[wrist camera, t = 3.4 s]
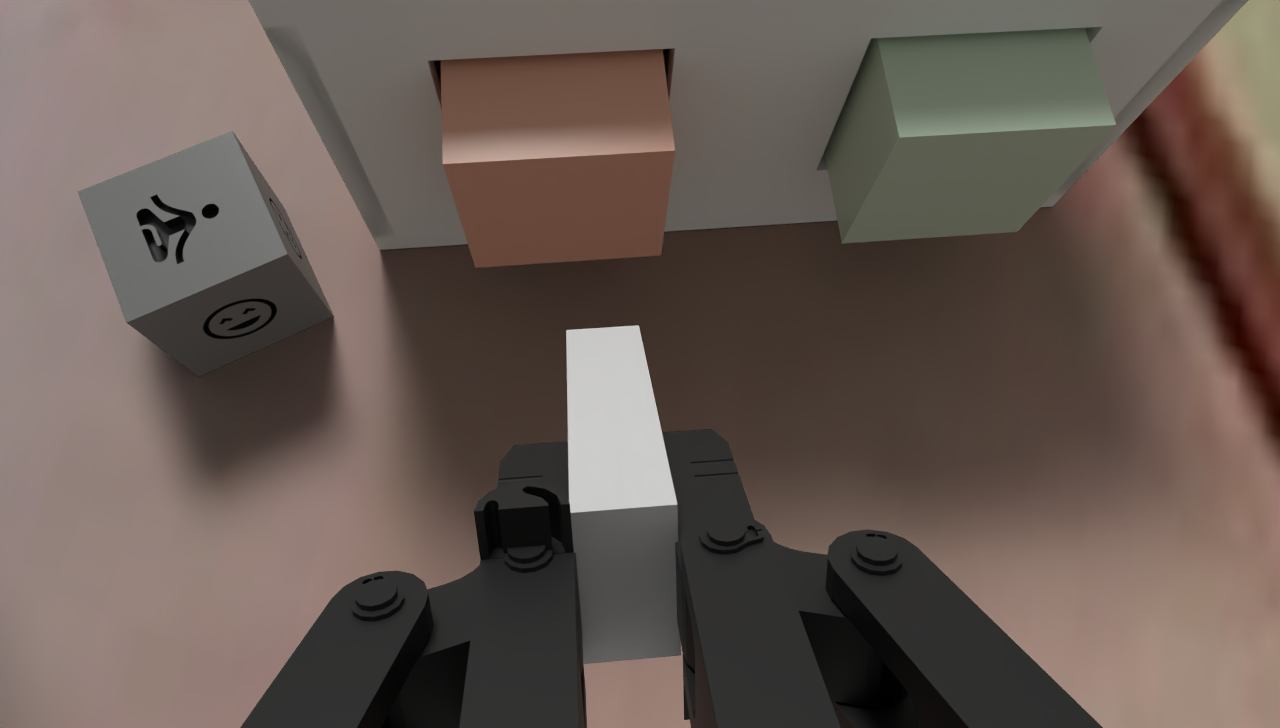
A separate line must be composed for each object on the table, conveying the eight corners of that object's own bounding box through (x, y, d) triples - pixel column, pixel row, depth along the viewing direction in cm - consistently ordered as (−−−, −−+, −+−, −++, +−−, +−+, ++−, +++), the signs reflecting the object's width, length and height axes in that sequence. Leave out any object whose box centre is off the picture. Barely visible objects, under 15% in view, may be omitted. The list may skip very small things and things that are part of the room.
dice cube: (154, 263, 32) (78, 191, 27) (285, 209, 33) (232, 131, 28) (199, 377, 31) (126, 322, 26) (334, 317, 32) (287, 254, 27)
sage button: (841, 243, 29) (899, 137, 23) (808, 68, 31) (853, -67, 26) (1017, 231, 29) (1116, 125, 24) (971, 60, 32) (1051, -75, 26)
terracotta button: (475, 267, 28) (442, 164, 22) (469, 86, 30) (438, -50, 25) (661, 255, 28) (674, 150, 23) (641, 77, 31) (649, -58, 25)
